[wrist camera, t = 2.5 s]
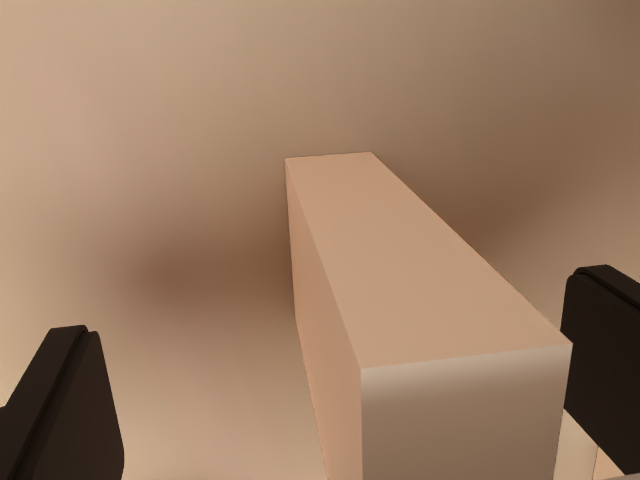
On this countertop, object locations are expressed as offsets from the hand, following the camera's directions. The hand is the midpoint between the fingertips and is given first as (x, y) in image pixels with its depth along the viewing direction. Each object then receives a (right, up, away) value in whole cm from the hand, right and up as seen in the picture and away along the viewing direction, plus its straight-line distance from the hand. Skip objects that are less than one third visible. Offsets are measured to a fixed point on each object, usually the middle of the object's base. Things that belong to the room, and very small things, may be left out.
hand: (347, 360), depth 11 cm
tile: (0, +2, +5) cm, 6 cm away
